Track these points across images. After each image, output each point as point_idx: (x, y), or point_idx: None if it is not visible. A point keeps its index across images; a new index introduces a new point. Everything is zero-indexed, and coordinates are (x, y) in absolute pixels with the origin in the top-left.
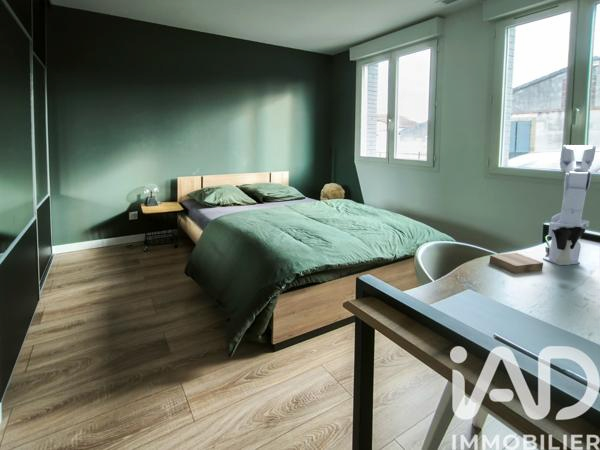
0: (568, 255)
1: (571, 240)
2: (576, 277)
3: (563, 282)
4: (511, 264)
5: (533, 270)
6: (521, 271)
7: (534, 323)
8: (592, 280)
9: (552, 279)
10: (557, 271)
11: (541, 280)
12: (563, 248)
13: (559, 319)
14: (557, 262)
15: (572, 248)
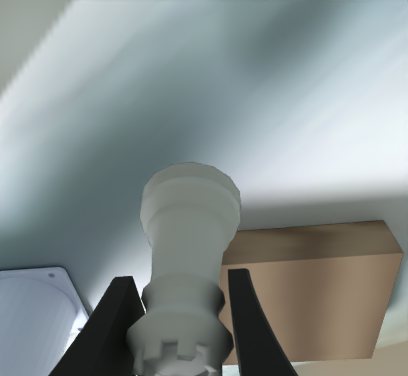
0: (180, 222)
1: (115, 370)
2: (93, 136)
3: (235, 83)
4: (397, 272)
5: (264, 234)
6: (344, 230)
7: None
8: (27, 81)
9: (258, 133)
10: (134, 216)
11: (334, 130)
12: (250, 278)
13: None
14: (239, 203)
15: (125, 279)
